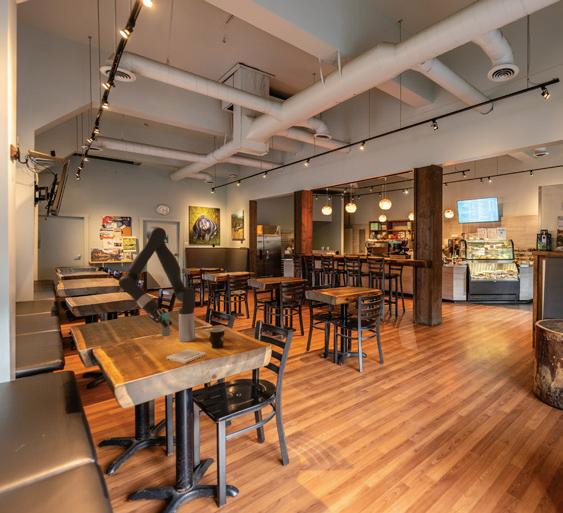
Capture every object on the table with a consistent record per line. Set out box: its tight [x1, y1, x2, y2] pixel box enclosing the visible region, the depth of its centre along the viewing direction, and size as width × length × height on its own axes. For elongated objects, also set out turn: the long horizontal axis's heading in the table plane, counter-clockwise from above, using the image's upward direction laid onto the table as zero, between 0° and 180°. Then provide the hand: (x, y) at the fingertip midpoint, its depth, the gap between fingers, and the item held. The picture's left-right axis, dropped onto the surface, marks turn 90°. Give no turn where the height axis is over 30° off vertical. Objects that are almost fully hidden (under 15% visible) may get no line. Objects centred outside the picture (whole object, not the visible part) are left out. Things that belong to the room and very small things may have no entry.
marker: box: [161, 312, 171, 337], centre depth 180 cm, size 4×4×12 cm
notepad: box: [165, 348, 207, 364], centre depth 174 cm, size 15×14×1 cm
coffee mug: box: [209, 327, 226, 350], centre depth 190 cm, size 12×9×10 cm
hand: (168, 325), depth 180 cm, fingers closed on marker, 4 cm apart
